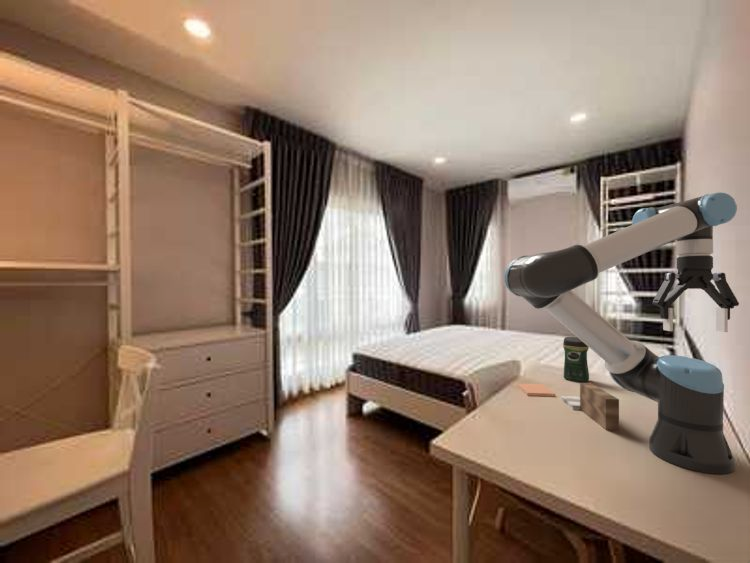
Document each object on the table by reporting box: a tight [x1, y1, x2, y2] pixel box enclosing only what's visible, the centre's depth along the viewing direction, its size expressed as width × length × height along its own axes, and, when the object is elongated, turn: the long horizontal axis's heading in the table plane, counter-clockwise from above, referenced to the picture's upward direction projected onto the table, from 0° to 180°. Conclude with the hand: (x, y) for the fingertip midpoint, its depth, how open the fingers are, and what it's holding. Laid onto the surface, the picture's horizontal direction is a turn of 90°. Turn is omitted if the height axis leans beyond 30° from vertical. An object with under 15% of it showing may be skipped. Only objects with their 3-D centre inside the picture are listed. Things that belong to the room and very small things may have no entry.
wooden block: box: [560, 382, 620, 432], centre depth 111 cm, size 26×8×9 cm, turn 172°
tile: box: [516, 383, 556, 398], centre depth 134 cm, size 2×10×12 cm
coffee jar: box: [562, 336, 590, 383], centre depth 150 cm, size 10×8×19 cm
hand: (694, 331), depth 96 cm, fingers open, 13 cm apart
